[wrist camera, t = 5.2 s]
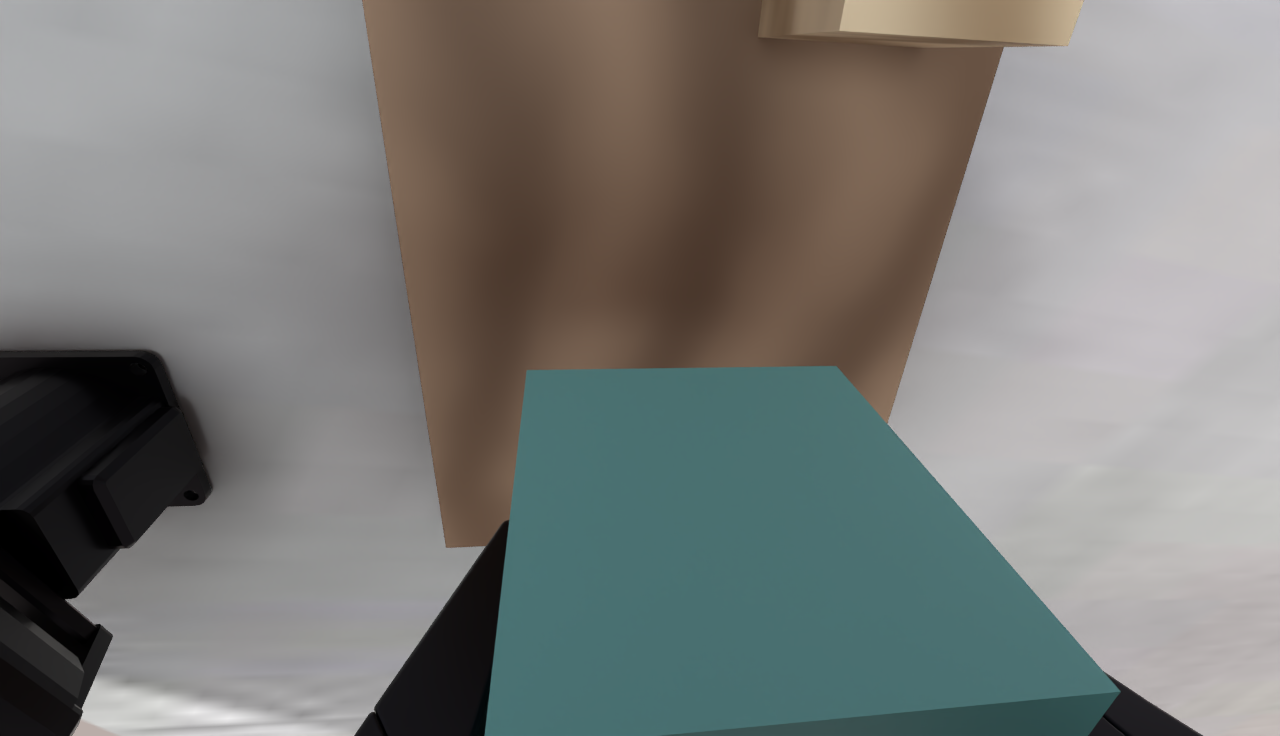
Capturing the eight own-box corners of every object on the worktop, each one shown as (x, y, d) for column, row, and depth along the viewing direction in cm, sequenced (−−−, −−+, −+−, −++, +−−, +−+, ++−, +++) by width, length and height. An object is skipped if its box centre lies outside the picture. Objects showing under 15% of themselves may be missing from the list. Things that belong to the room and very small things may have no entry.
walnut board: (451, 527, 25) (446, 547, 24) (332, -296, 13) (312, -328, 12) (843, 510, 27) (854, 528, 26) (1051, -206, 15) (1087, -225, 14)
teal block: (538, 594, 11) (519, 1003, 6) (526, 369, 9) (482, 753, 4) (784, 579, 12) (936, 939, 7) (836, 366, 9) (1121, 692, 5)
